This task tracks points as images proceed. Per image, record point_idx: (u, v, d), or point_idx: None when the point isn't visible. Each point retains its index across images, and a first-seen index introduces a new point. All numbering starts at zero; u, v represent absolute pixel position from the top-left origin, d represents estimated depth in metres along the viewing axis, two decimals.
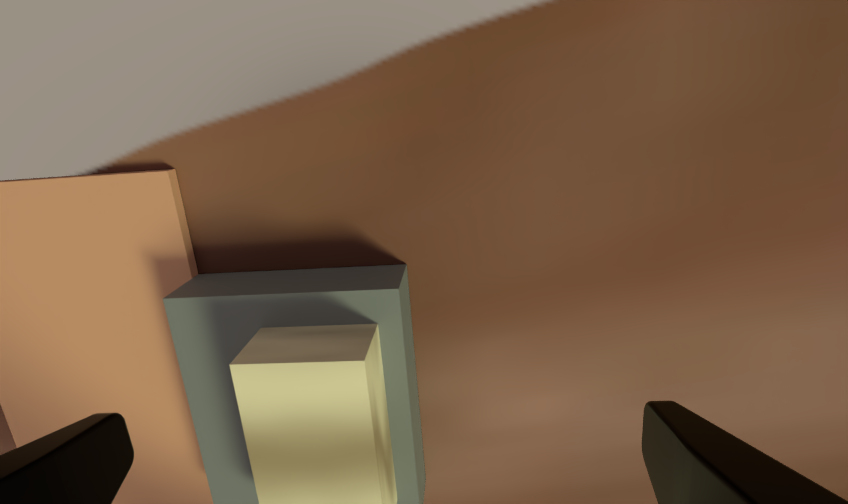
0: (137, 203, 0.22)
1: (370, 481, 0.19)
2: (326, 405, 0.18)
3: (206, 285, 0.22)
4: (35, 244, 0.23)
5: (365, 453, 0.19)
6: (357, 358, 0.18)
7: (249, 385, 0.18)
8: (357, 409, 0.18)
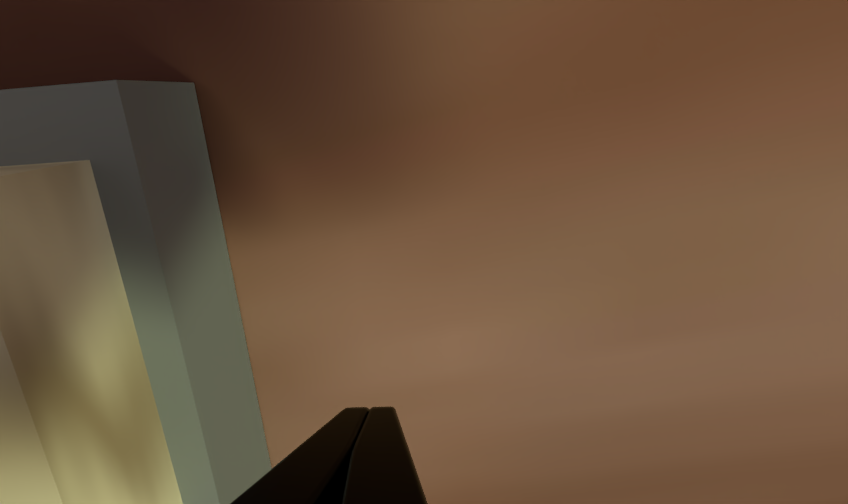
0: None
1: (34, 472, 0.09)
2: None
3: None
4: None
5: (8, 411, 0.09)
6: None
7: None
8: None
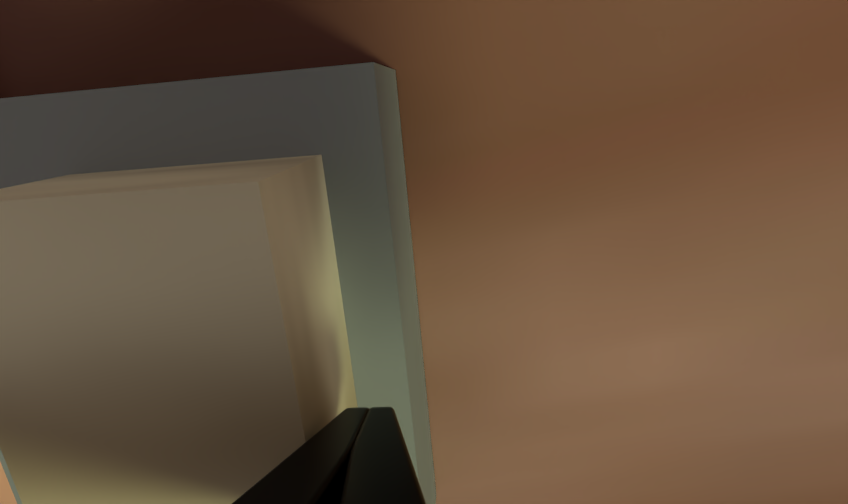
0: None
1: None
2: (169, 316, 0.07)
3: None
4: None
5: (280, 444, 0.08)
6: (243, 181, 0.07)
7: None
8: (252, 327, 0.07)
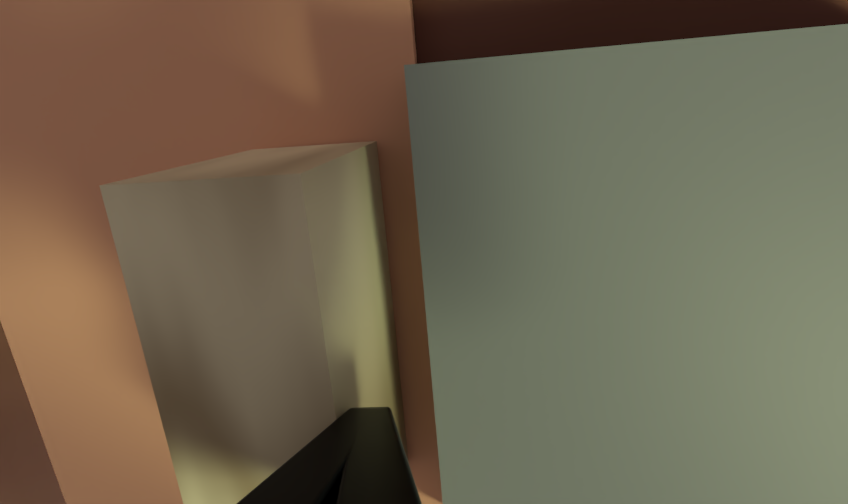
0: None
1: None
2: None
3: None
4: (87, 4, 0.11)
5: None
6: (122, 181, 0.07)
7: None
8: None
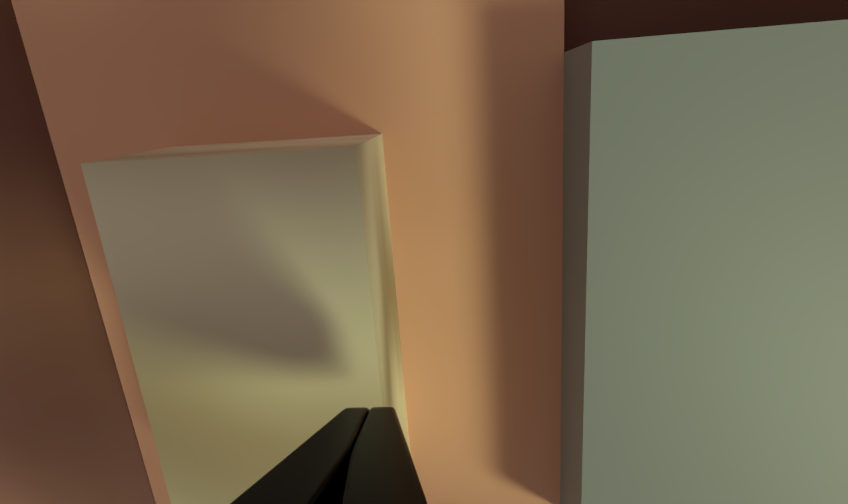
0: None
1: None
2: None
3: None
4: None
5: None
6: (179, 146, 0.12)
7: None
8: None
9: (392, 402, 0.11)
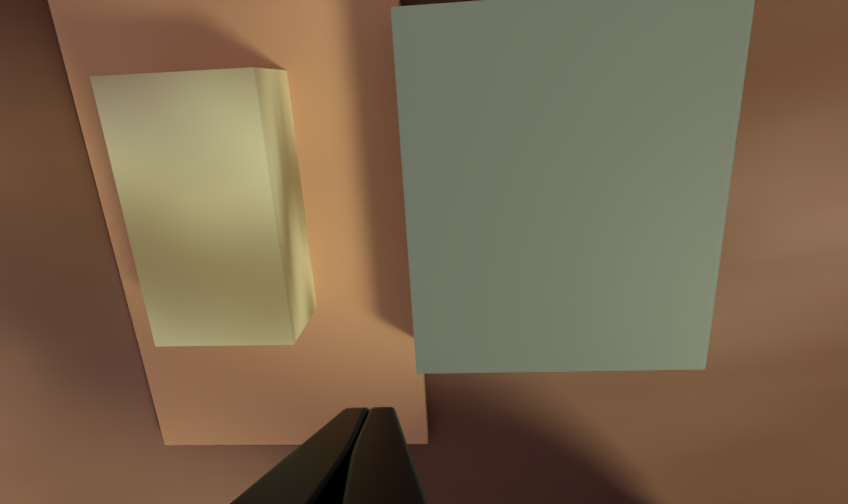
0: None
1: None
2: None
3: None
4: None
5: None
6: None
7: None
8: None
9: (291, 246, 0.17)
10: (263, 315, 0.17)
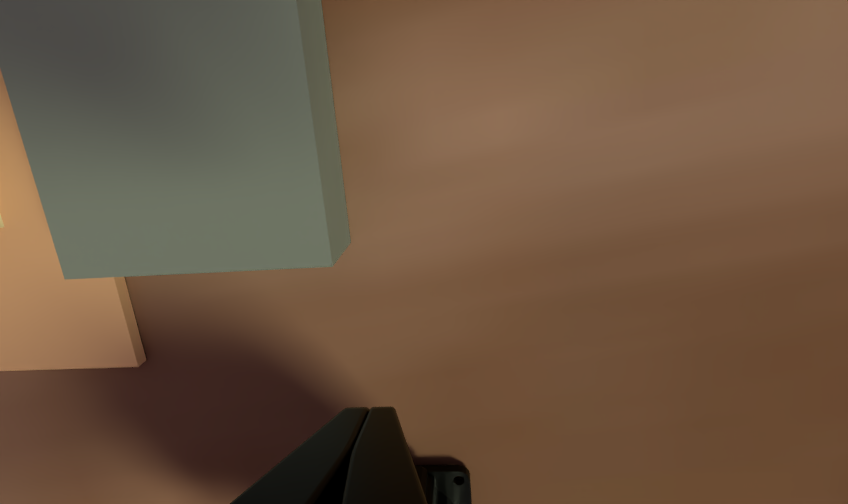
0: None
1: None
2: None
3: None
4: None
5: None
6: None
7: None
8: None
9: None
10: None
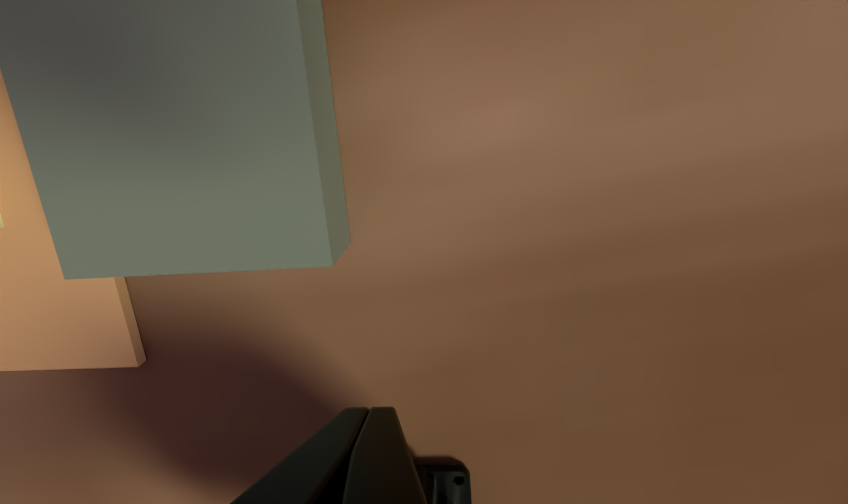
0: None
1: None
2: None
3: None
4: None
5: None
6: None
7: None
8: None
9: None
10: None
